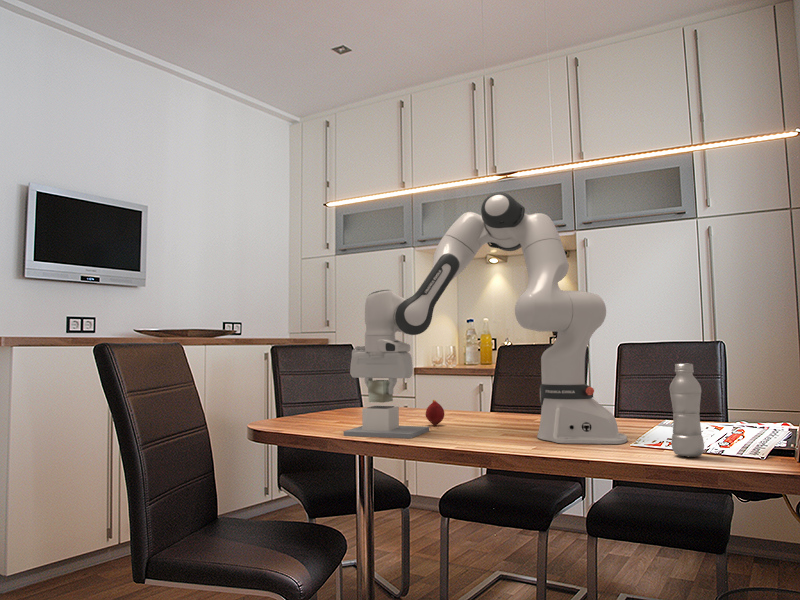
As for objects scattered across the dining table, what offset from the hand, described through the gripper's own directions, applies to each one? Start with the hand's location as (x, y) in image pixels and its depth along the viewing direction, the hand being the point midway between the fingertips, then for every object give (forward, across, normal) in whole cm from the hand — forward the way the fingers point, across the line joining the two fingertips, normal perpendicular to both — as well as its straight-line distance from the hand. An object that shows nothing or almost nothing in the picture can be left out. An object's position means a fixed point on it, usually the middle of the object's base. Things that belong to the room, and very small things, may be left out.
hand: (380, 394), depth 179 cm
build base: (+11, +2, 0) cm, 11 cm away
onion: (+11, +5, +22) cm, 25 cm away
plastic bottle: (+11, +81, +2) cm, 82 cm away
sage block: (+2, 0, 0) cm, 2 cm away
